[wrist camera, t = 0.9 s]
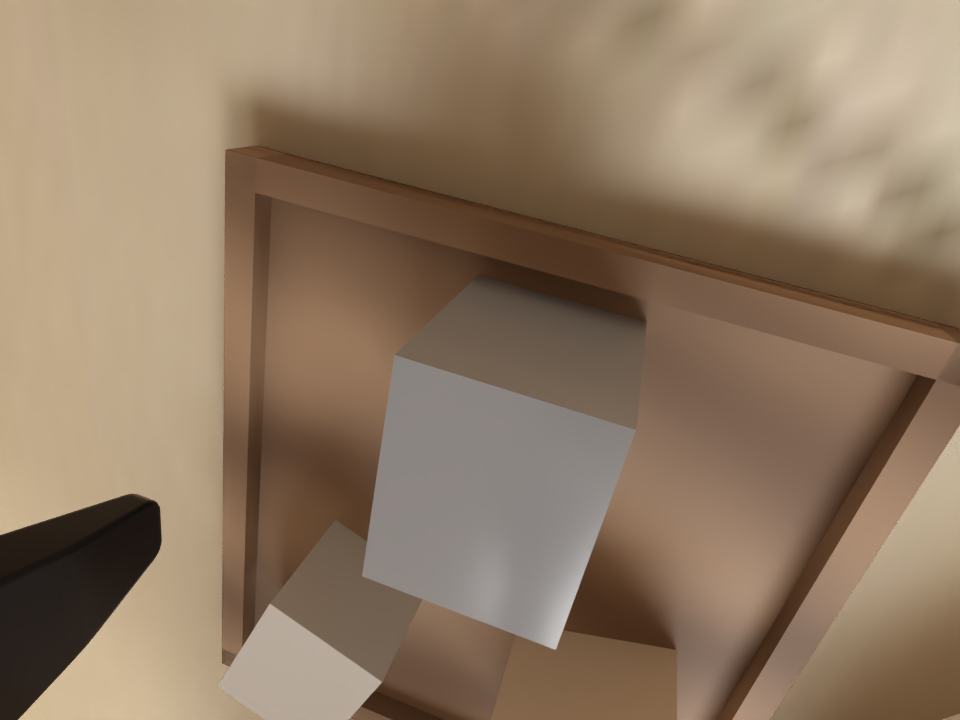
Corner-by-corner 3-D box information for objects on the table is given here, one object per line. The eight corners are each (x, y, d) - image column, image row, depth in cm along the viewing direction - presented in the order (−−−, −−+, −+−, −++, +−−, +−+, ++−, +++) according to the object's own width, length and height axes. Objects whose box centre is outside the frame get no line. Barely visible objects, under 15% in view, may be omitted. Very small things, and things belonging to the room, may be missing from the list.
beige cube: (368, 658, 21) (315, 756, 18) (284, 599, 21) (217, 687, 18) (429, 584, 19) (382, 681, 16) (335, 519, 19) (269, 603, 16)
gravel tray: (680, 817, 20) (681, 857, 19) (242, 636, 23) (221, 663, 22) (976, 332, 12) (1004, 355, 11) (256, 145, 15) (225, 149, 14)
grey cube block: (587, 496, 16) (555, 650, 12) (443, 448, 17) (361, 576, 12) (646, 322, 14) (636, 430, 9) (478, 274, 14) (394, 355, 10)
